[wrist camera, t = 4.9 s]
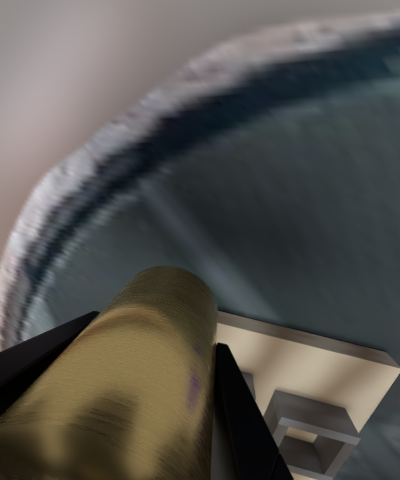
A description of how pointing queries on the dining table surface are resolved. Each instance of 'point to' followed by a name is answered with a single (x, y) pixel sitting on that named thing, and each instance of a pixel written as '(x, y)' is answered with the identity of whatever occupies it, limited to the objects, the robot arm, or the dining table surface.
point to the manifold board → (308, 390)
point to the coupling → (124, 391)
